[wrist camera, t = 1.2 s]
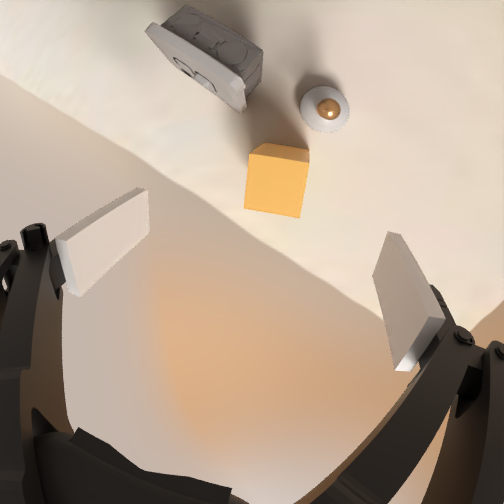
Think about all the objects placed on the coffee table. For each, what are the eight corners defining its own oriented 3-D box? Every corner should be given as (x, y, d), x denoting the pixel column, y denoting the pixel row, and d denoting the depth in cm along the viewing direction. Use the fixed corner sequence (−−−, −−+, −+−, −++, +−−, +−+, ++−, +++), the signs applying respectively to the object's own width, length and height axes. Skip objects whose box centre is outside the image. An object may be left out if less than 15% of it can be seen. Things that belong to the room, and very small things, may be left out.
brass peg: (314, 102, 22) (315, 99, 17) (331, 99, 21) (338, 96, 16) (318, 119, 22) (320, 121, 18) (335, 116, 22) (342, 118, 17)
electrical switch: (174, 65, 23) (127, 46, 15) (206, 28, 21) (171, -6, 13) (242, 115, 25) (220, 110, 16) (277, 77, 23) (272, 53, 14)
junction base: (295, 91, 23) (295, 90, 21) (341, 84, 21) (343, 83, 20) (306, 135, 25) (305, 136, 23) (351, 128, 23) (353, 129, 22)
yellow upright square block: (259, 184, 28) (243, 208, 22) (264, 142, 26) (249, 153, 20) (302, 192, 27) (299, 218, 21) (309, 149, 25) (309, 163, 19)
